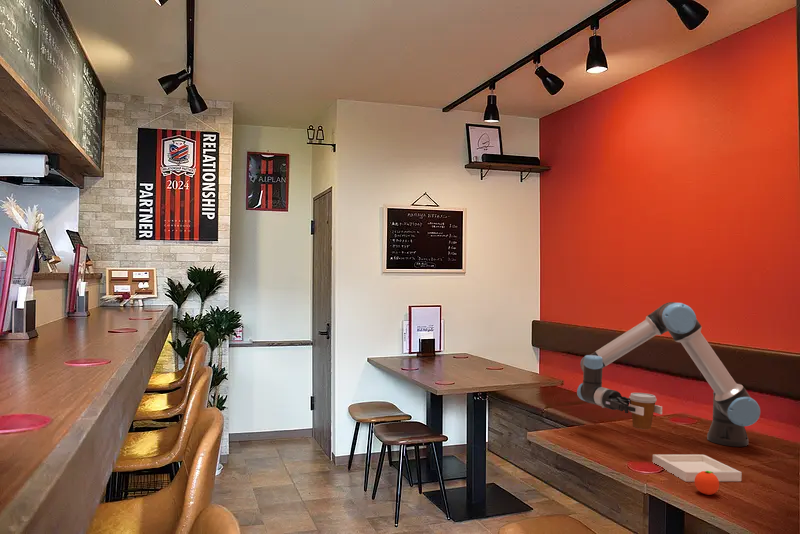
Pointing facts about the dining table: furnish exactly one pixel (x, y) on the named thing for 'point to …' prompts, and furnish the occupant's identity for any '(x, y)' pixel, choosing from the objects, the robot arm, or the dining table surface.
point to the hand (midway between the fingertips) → (652, 411)
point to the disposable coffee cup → (648, 404)
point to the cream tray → (696, 467)
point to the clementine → (707, 482)
